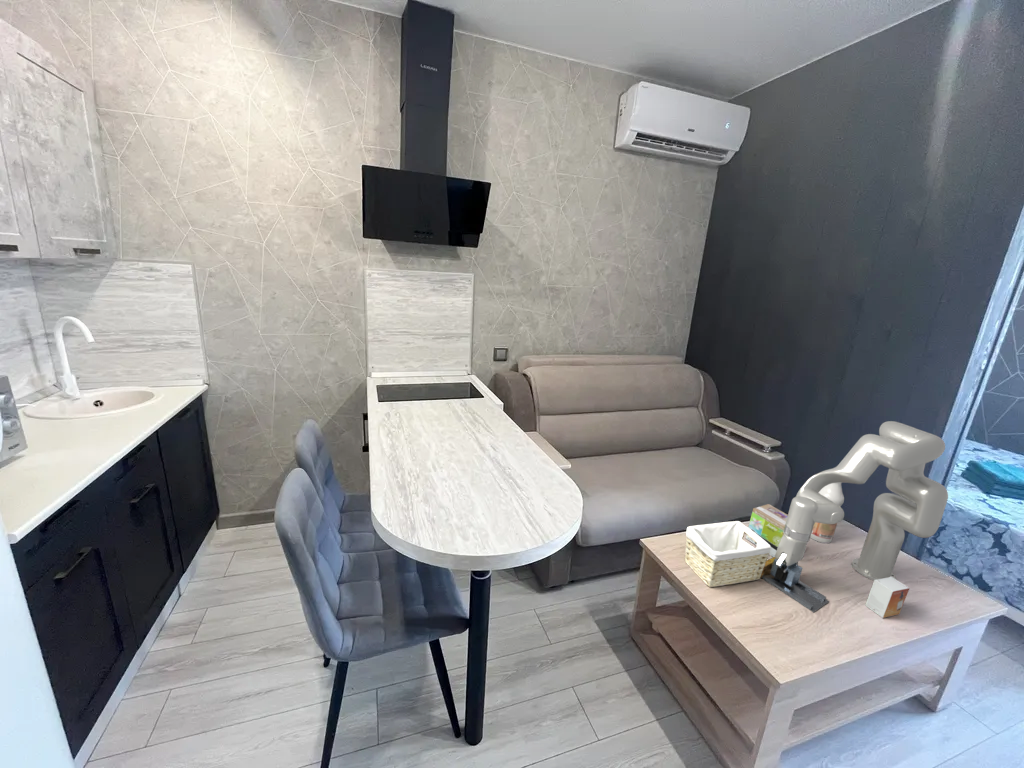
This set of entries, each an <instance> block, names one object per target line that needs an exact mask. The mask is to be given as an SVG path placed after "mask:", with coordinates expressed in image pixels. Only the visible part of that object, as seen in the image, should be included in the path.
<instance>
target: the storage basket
mask: <svg viewBox="0 0 1024 768" xmlns="http://www.w3.org/2000/svg"><path fill="white" fill-rule="evenodd" d="M746 535H747V536H748V537H749V538H751V539H752V540H753V541H754V542H756V543H757V545H755V546H756V547H754V546H752V545H751V544H749V543H748V542H747V541H745V539H744V537H745V536H746ZM685 536H686V539H685V541H686V542H685V556H684V561H685V563H686V565H688V567H689V568H690V569H691V570H692V571H693V572H694V573H695V574H696V575H697V576H698V578H700V580H701V581H702V582H703V583H704V584H705V585H706V586H707V587H709V588H713V587H715V588H716V587H720V586H727V585H734V584H739V583H745V582H751V581H757V580H760V579H761V577H760V576H761V573H762V571H763V568H764V566H765V563H766V561H767V560H768V558H769V556H770V554H769V553H770V550H771V546H770V545H769V544H768V543H767V542H766V541H765V540H763V539H762V538H761V537H760V536H759V535H757V534H756V533H755V532H753V531H752V530H751V529H750V528H748V526H746V525H745V524H744V523H742V522H741V521H739V520H735V521H734V520H733V521H723V522H714V523H706V524H697V525H690V526H687V528H686V531H685Z"/></svg>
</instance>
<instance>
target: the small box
mask: <svg viewBox="0 0 1024 768" xmlns="http://www.w3.org/2000/svg"><path fill="white" fill-rule="evenodd" d="M909 591H910V587H908V586H907V585H905V584H904V583H903V582H901V581H899V580H898V579H897V578H896V579H894V578H893V577H887V578H882V579H876V580H874V581H873V583H872V586H871V588H870V591H869V594H868V597H867V599H866V603H865V606H866V608H868V609H870V610H871V611H872V612H874V613H875V614H876V615H878V616H879V617H881V618H882V619H884V618H887V617H892V616H897V615H900V614H901V610H902V608H903V606H904V604H905V601H906V599H907V597H908V593H909Z"/></svg>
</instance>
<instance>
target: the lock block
mask: <svg viewBox="0 0 1024 768" xmlns="http://www.w3.org/2000/svg"><path fill="white" fill-rule="evenodd" d="M778 560H779V559H778ZM778 560H777V559H774V561H773V565H772V569H771V572H770V574H771V575H773V576H774V577H775V574H776V570H777V566H776V563H777V562H778ZM784 562H786V561H784ZM782 565H783V566H784V568H785V566H786V565H784V564H782ZM787 572H788V573H787V577H786V580H785V582H783V583H785V584H787V585H788V586H790V587H791V586H793V585H795V584H796V583H798V582H799V580H800V577H801V575H802V572H803V567H802V566H800V565H799V564H798V565H797V564H795V563H794V564H792V565H790V566H789V567H788V570H787ZM777 579H778V578H777ZM780 581H781V580H780Z"/></svg>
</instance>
